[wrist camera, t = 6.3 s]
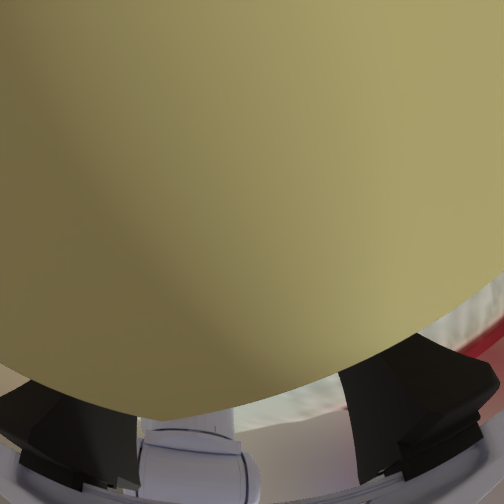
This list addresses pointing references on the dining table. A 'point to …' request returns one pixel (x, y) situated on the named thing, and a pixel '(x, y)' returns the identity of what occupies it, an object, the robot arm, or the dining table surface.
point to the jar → (240, 189)
